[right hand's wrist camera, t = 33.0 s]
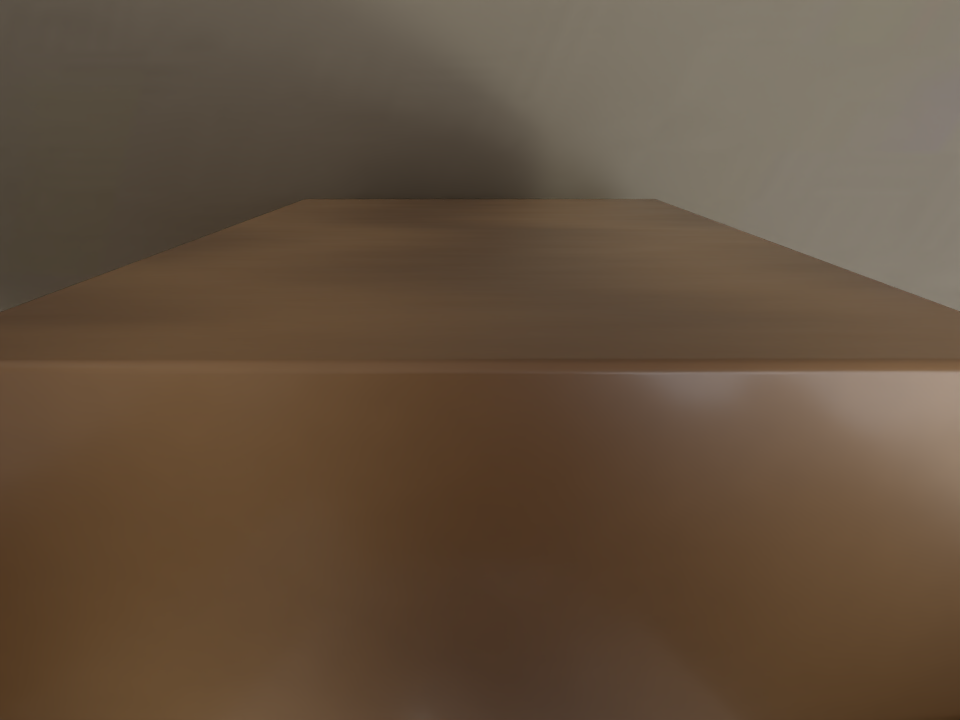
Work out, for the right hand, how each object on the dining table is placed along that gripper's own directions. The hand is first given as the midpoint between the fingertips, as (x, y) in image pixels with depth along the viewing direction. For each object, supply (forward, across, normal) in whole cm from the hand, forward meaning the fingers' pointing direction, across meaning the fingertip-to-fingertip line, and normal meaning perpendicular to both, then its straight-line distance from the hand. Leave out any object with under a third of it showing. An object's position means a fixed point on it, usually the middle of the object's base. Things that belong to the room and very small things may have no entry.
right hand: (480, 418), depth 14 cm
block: (+3, 0, 0) cm, 3 cm away
